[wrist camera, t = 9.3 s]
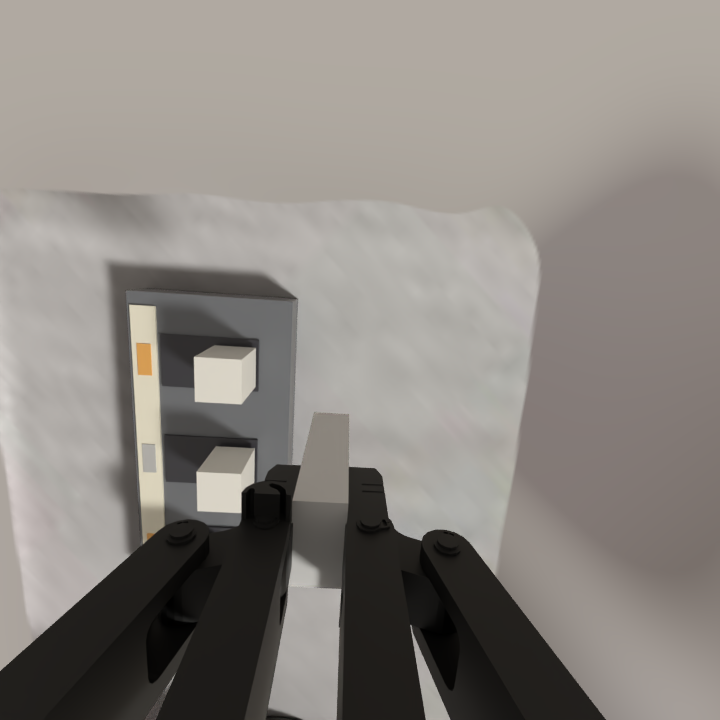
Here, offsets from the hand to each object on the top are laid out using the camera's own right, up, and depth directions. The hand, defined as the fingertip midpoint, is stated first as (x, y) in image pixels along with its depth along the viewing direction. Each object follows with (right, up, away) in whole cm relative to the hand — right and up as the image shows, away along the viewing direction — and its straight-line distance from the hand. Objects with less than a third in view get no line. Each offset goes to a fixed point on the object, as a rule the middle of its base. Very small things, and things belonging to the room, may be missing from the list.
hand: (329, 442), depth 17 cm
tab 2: (-9, -5, +14) cm, 17 cm away
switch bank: (-11, -4, +17) cm, 21 cm away
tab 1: (-8, +3, +12) cm, 15 cm away
